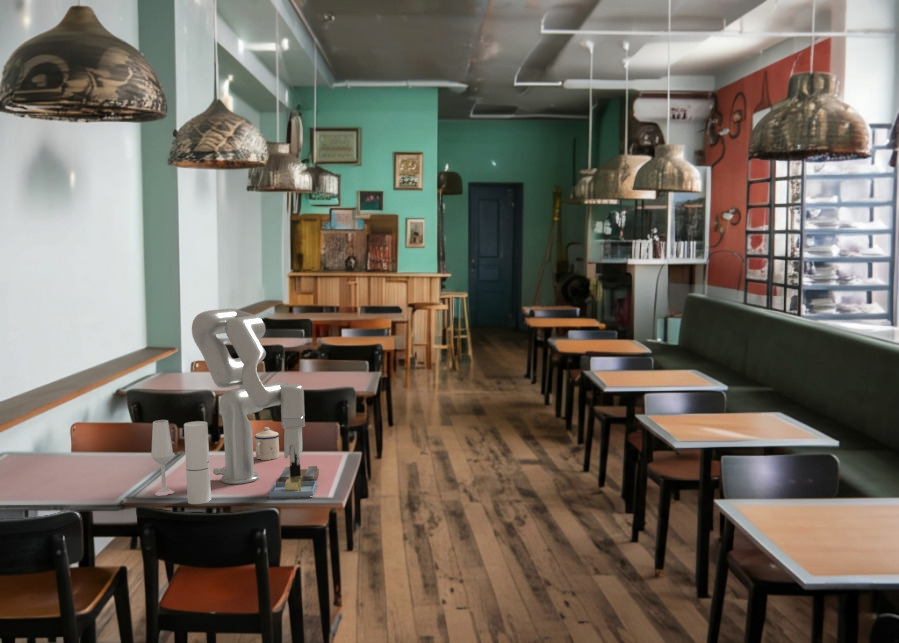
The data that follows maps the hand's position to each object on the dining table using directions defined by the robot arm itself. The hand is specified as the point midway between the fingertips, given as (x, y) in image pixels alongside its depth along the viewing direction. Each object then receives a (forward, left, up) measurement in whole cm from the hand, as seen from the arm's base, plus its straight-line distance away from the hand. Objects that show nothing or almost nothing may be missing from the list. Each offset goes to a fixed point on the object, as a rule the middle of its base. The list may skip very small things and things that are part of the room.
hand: (295, 476), depth 284 cm
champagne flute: (-43, 0, -4) cm, 43 cm away
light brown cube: (0, -3, -4) cm, 5 cm away
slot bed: (0, +9, -4) cm, 9 cm away
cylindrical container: (-29, -10, -4) cm, 31 cm away
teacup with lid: (-17, +42, -4) cm, 46 cm away
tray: (0, -4, -4) cm, 6 cm away
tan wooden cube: (0, -5, -2) cm, 5 cm away
